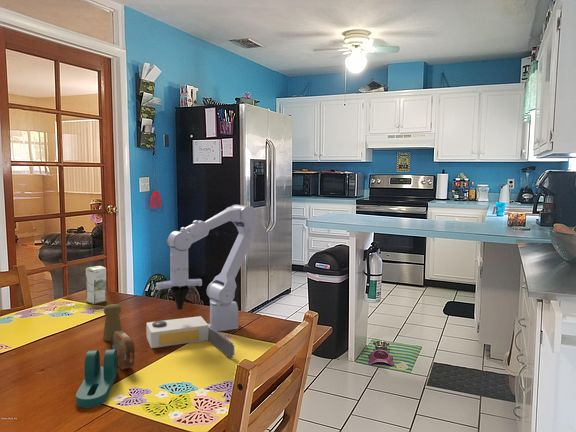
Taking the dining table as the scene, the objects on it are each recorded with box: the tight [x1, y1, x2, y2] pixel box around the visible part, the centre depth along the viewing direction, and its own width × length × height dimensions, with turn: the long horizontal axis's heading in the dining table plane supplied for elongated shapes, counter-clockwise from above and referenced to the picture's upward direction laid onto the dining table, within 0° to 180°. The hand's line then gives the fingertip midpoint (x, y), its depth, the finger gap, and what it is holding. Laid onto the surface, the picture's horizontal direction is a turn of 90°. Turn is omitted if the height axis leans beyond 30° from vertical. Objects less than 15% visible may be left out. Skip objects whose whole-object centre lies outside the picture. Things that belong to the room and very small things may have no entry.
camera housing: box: [146, 315, 209, 349], centre depth 148 cm, size 18×11×6 cm, turn 115°
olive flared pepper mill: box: [103, 303, 123, 342], centre depth 149 cm, size 6×6×11 cm
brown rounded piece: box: [110, 330, 136, 370], centre depth 129 cm, size 15×3×8 cm, turn 36°
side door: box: [207, 327, 235, 359], centre depth 140 cm, size 17×2×4 cm, turn 33°
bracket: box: [75, 349, 119, 409], centre depth 114 cm, size 18×7×8 cm, turn 11°
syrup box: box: [85, 265, 107, 305], centre depth 189 cm, size 6×6×14 cm
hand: (179, 308), depth 150 cm, fingers closed
